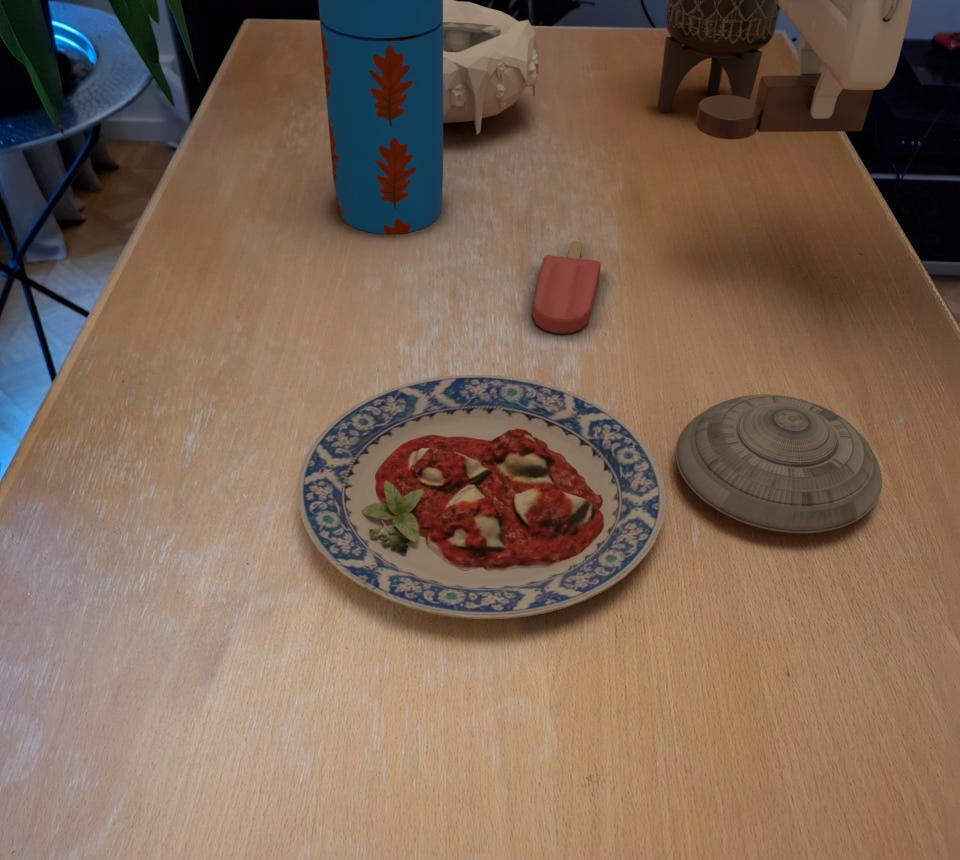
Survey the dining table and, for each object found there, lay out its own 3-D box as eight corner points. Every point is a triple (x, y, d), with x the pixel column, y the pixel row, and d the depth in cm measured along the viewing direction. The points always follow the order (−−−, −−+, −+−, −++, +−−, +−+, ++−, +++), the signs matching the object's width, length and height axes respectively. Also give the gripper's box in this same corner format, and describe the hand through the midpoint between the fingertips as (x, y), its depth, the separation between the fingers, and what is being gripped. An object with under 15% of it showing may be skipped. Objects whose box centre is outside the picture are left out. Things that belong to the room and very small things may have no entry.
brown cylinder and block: (848, 113, 87) (860, 68, 84) (867, 138, 84) (881, 92, 81) (689, 114, 86) (697, 69, 83) (702, 140, 83) (710, 93, 80)
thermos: (344, 239, 96) (319, -70, 77) (328, 189, 103) (302, -106, 84) (453, 229, 98) (456, -75, 79) (431, 181, 105) (429, -110, 86)
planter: (663, 80, 124) (690, -91, 111) (766, 97, 122) (806, -76, 108) (639, 119, 116) (665, -60, 103) (748, 138, 114) (789, -43, 100)
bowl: (321, 115, 115) (312, 17, 107) (440, 67, 125) (439, -25, 118) (456, 171, 106) (457, 69, 99) (571, 115, 117) (580, 19, 109)
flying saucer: (809, 404, 80) (829, 344, 76) (916, 525, 71) (945, 465, 67) (640, 435, 77) (651, 375, 73) (728, 566, 68) (747, 505, 64)
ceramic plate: (600, 382, 82) (605, 350, 79) (714, 608, 65) (724, 577, 63) (285, 416, 77) (280, 383, 75) (322, 666, 61) (317, 635, 59)
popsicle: (605, 238, 94) (589, 322, 85) (603, 253, 95) (587, 338, 86) (550, 231, 95) (527, 314, 85) (548, 247, 96) (526, 330, 86)
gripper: (956, -51, 67) (889, 159, 77) (860, -127, 80) (814, 61, 91) (865, -51, 66) (810, 160, 77) (784, -127, 80) (746, 61, 90)
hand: (811, 106), depth 84 cm, fingers closed on brown cylinder and block, 2 cm apart
